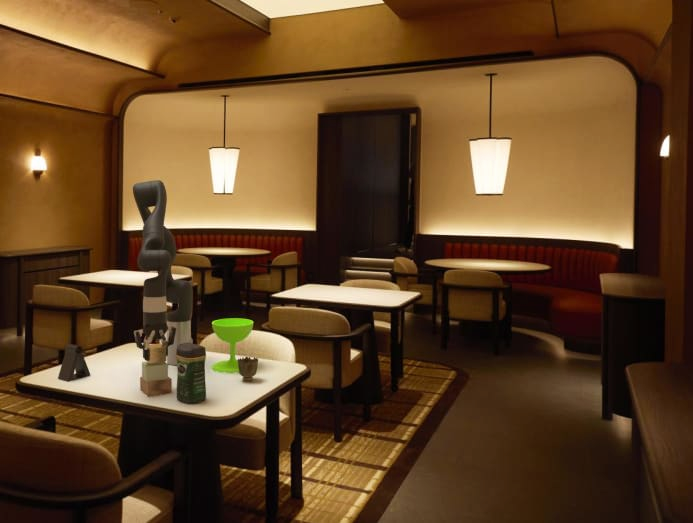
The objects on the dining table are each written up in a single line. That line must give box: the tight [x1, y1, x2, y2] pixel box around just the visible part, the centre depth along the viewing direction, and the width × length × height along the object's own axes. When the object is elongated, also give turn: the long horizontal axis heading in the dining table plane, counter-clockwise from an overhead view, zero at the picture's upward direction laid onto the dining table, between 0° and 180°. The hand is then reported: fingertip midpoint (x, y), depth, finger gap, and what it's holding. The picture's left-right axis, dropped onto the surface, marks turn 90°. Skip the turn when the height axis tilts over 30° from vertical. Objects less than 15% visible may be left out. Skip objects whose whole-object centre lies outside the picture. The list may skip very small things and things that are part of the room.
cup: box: [237, 356, 259, 382], centre depth 215 cm, size 8×7×8 cm
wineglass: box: [211, 317, 254, 374], centre depth 231 cm, size 16×16×18 cm
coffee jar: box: [175, 342, 207, 404], centre depth 192 cm, size 10×8×19 cm
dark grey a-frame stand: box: [57, 343, 91, 383], centre depth 214 cm, size 9×6×12 cm, turn 148°
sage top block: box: [141, 361, 169, 382], centre depth 200 cm, size 7×7×5 cm
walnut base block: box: [139, 376, 173, 398], centre depth 200 cm, size 8×8×5 cm
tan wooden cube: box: [146, 343, 167, 364], centre depth 199 cm, size 5×5×5 cm
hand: (155, 358), depth 199 cm, fingers closed on tan wooden cube, 5 cm apart
